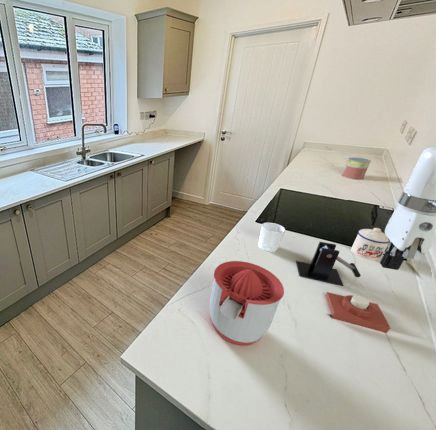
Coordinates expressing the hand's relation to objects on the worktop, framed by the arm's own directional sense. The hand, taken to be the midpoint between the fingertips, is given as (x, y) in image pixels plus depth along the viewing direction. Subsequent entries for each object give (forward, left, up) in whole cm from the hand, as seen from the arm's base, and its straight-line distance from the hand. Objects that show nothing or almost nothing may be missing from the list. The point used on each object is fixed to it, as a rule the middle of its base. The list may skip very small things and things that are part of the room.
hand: (388, 266), depth 68 cm
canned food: (-34, -147, -17) cm, 152 cm away
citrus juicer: (+33, +21, -17) cm, 43 cm away
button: (+2, +1, -13) cm, 14 cm away
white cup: (+23, -26, -17) cm, 39 cm away
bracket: (+8, -15, -17) cm, 24 cm away
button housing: (+2, +1, -17) cm, 17 cm away
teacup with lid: (-12, -36, -17) cm, 41 cm away
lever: (+5, -15, -10) cm, 19 cm away
